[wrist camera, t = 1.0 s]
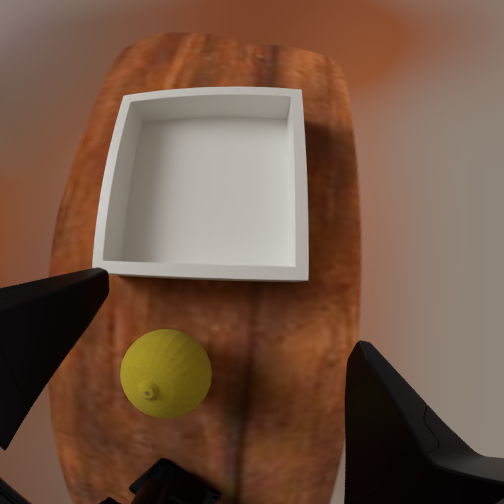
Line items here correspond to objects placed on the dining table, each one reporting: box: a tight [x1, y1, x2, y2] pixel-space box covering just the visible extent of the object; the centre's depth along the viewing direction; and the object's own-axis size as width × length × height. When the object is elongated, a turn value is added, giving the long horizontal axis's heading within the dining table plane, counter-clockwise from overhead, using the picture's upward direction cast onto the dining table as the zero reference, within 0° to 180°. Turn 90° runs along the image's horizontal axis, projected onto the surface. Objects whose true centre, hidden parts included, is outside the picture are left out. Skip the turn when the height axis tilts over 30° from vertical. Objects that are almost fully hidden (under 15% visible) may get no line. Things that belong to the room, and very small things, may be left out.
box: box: [92, 87, 309, 282], centre depth 20 cm, size 14×14×4 cm
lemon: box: [120, 329, 212, 419], centre depth 16 cm, size 6×6×8 cm
